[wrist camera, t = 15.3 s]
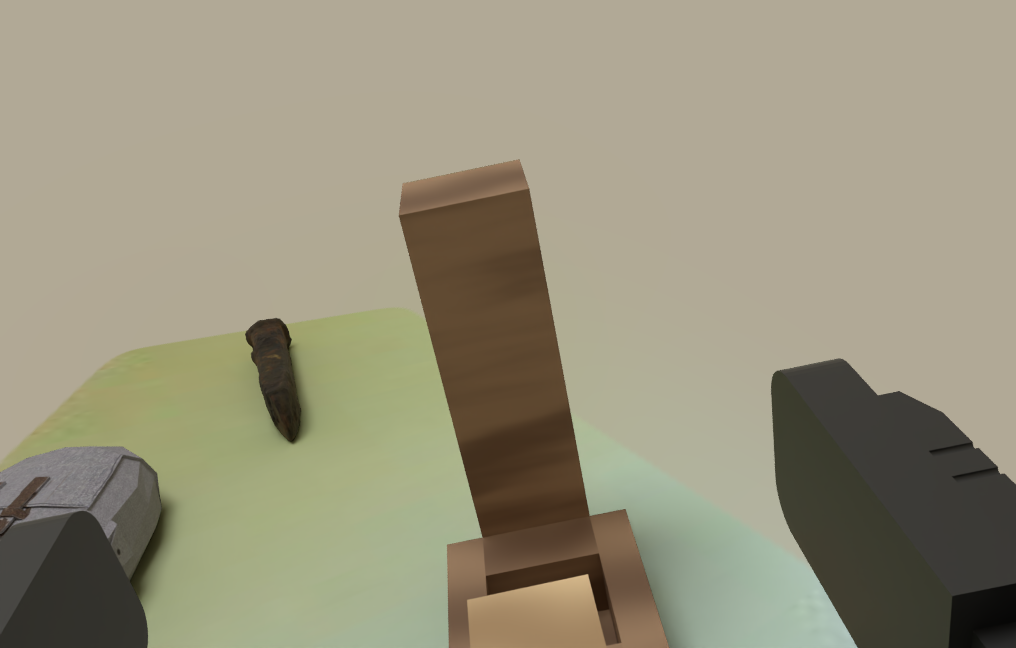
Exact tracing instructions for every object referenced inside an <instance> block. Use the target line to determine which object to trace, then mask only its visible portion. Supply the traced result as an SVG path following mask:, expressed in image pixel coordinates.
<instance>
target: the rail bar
mask: <svg viewBox="0 0 1016 648" xmlns="http://www.w3.org/2000/svg"><path fill="white" fill-rule="evenodd" d="M467 606H468V621H469V635H470V648H607V647H606V643H605V639H604V636H603V632H602V628H601V624H600V620H599V616H598V612H597V608H596V604H595V600H594V596H593V592H592V588H591V584H590V581H589V577H588V574H587V575H582V576H577V577H573V578H568V579H563V580H559V581H554V582H549V583H544V584H540V585H535V586H530V587H526V588H521V589H516V590H512V591H507V592H502V593H498V594H493V595H488V596H483V597H479V598H474V599H469V600H467Z"/></svg>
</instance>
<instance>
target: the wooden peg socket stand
mask: <svg viewBox="0 0 1016 648" xmlns="http://www.w3.org/2000/svg"><path fill="white" fill-rule="evenodd" d="M399 218H400V222H401V226H402V229H403V233H404V237H405V241H406V245H407V248H408V252H409V256H410V260H411V264H412V268H413V271H414V275H415V279H416V283H417V286H418V291H419V294H420V299H421V302H422V306H423V310H424V314H425V318H426V322H427V325H428V329H429V333H430V337H431V341H432V345H433V349H434V352H435V356H436V360H437V364H438V368H439V372H440V375H441V379H442V383H443V387H444V391H445V395H446V398H447V402H448V406H449V410H450V414H451V418H452V422H453V425H454V429H455V433H456V437H457V441H458V445H459V448H460V452H461V456H462V460H463V464H464V468H465V471H466V475H467V479H468V483H469V487H470V491H471V495H472V498H473V502H474V506H475V510H476V514H477V518H478V521H479V525H480V529H481V533H482V537H483V538H478V539H473V540H468V541H463V542H458V543H453V544H448V545H447V564H448V622H449V648H470V635H469V621H468V606H467V600H469V599H474V598H479V597H483V596H488V595H493V594H498V593H502V592H507V591H512V590H516V589H521V588H526V587H530V586H535V585H540V584H544V583H549V582H554V581H559V580H563V579H568V578H573V577H577V576H582V575H587V574H588V577H589V581H590V584H591V588H592V592H593V596H594V600H595V604H596V608H597V612H598V616H599V620H600V624H601V628H602V632H603V636H604V639H605V643H606V647H607V648H669V646H668V642H667V639H666V636H665V633H664V630H663V627H662V623H661V620H660V617H659V614H658V611H657V608H656V604H655V601H654V598H653V595H652V592H651V589H650V585H649V582H648V579H647V576H646V573H645V570H644V566H643V563H642V560H641V557H640V554H639V551H638V547H637V544H636V541H635V538H634V535H633V532H632V528H631V525H630V522H629V519H628V516H627V513H626V509H623V510H618V511H613V512H608V513H603V514H598V515H593V516H589V510H588V505H587V499H586V494H585V488H584V483H583V478H582V472H581V467H580V461H579V456H578V451H577V445H576V440H575V434H574V429H573V424H572V418H571V413H570V407H569V402H568V397H567V391H566V386H565V380H564V375H563V369H562V364H561V359H560V353H559V348H558V343H557V337H556V332H555V326H554V321H553V315H552V310H551V304H550V299H549V294H548V288H547V283H546V277H545V272H544V267H543V261H542V256H541V250H540V245H539V240H538V234H537V229H536V223H535V218H534V212H533V207H532V202H531V197H530V191H529V187H528V184H527V181H526V178H525V175H524V172H523V169H522V166H521V163H520V160H514V161H509V162H504V163H499V164H494V165H490V166H485V167H480V168H475V169H471V170H466V171H461V172H456V173H451V174H447V175H442V176H437V177H432V178H427V179H423V180H417V181H413V182H408V183H403V186H402V194H401V202H400V210H399Z"/></svg>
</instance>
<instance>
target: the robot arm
mask: <svg viewBox="0 0 1016 648" xmlns="http://www.w3.org/2000/svg"><path fill="white" fill-rule="evenodd" d="M771 395H772V415H773V433H774V453H775V454H774V455H775V473H776V485H777V491H778V496H779V500H780V504H781V507H782V511H783V514H784V517H785V519H786V522H787V524H788V526H789V529H790V531H791V533H792V534H793V536H794V538H795V540H796V541H797V543H798V545H799V547H800V548H801V550H802V552H803V554H804V555H805V557H806V559H807V561H808V562H809V564H810V566H811V567H812V569H813V571H814V573H815V574H816V576H817V578H818V580H819V581H820V583H821V585H822V586H823V588H824V590H825V592H826V593H827V595H828V597H829V599H830V600H831V602H832V604H833V606H834V607H835V609H836V611H837V612H838V614H839V616H840V618H841V619H842V621H843V623H844V625H845V626H846V628H847V630H848V631H849V633H850V635H851V637H852V638H853V640H854V642H855V644H856V645H857V647H858V648H1016V484H1015V483H1014V482H1012V481H1011V480H1010V479H1009V478H1008V477H1007V476H1006V475H1005V474H1000V473H999V471H998V467H997V466H996V465H995V464H994V463H993V462H992V461H991V460H990V459H989V458H988V457H987V456H986V455H985V454H984V453H983V452H982V451H981V450H980V449H979V448H976V449H975V448H974V447H973V442H972V441H971V440H970V439H969V438H968V437H967V436H966V435H965V434H964V433H963V432H962V431H961V430H960V429H959V428H958V427H957V426H956V425H955V424H954V423H953V422H952V421H951V420H950V419H949V418H948V417H947V416H946V415H945V414H944V413H942V412H941V411H938V410H936V409H934V408H932V407H930V406H928V405H926V404H924V403H922V402H920V401H918V400H916V399H914V398H912V397H910V396H908V395H906V394H904V393H902V392H900V391H898V392H893V393H888V394H883V395H877V394H876V393H875V392H874V391H873V390H872V389H871V388H870V386H869V385H868V384H867V383H866V382H865V381H864V380H863V379H862V378H861V377H860V376H859V374H858V373H857V372H856V371H855V370H854V369H853V368H852V367H851V366H850V365H849V364H848V363H847V362H846V361H844V360H843V359H834V360H829V361H824V362H819V363H814V364H809V365H804V366H800V367H794V368H790V369H784V370H780V371H776V372H775V373H774V374H773V377H772V383H771ZM147 645H148V629H147V621H146V616H145V613H144V609H143V607H142V604H141V602H140V600H139V598H138V596H137V594H136V592H135V591H134V589H133V587H132V585H131V583H130V581H129V579H128V577H127V575H126V573H125V571H124V569H123V567H122V565H121V563H120V562H119V560H118V558H117V556H116V554H115V552H114V550H113V548H112V546H111V544H110V542H109V540H108V538H107V536H106V534H105V532H104V531H103V529H102V527H101V525H100V523H99V522H98V520H97V519H96V518H95V517H94V516H93V515H92V514H91V513H89V512H87V511H76V512H71V513H66V514H61V515H56V516H51V517H46V518H42V519H37V520H32V521H27V522H22V523H17V524H15V525H13V526H12V527H11V528H9V529H8V531H7V532H6V533H5V534H4V536H3V537H2V539H1V540H0V648H147Z"/></svg>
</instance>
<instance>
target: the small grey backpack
mask: <svg viewBox="0 0 1016 648" xmlns="http://www.w3.org/2000/svg"><path fill="white" fill-rule="evenodd" d="M161 510H162V506H161V500H160V494H159V486H158V477H157V473H156V472H155V471H154V470H153V469H152V468H151V467H150V466H149V465H148V464H147V463H146V462H145V461H144V460H143V459H142V458H140V457H139V456H137V455H135V454H134V453H132V452H130V451H129V450H127V449H125V448H124V447H65V448H62V449H58V450H54V451H51V452H47V453H44V454H40V455H36V456H33V457H29V458H26V459H24V460H22V461H20V462H19V463H17V464H15V465H13V466H11V467H9V468H7V469H5V470H3V471H2V472H0V540H1V539H2V537H3V536H4V534H5V533H6V532H7V531H8V529H9V528H11V527H12V526H13V525H15V524H17V523H22V522H27V521H32V520H37V519H42V518H46V517H51V516H56V515H61V514H66V513H71V512H76V511H87V512H89V513H91V514H92V515H93V516H94V517H95V518H96V519H97V520H98V522H99V523H100V525H101V527H102V529H103V531H104V532H105V534H106V536H107V538H108V540H109V542H110V544H111V546H112V548H113V550H114V552H115V554H116V556H117V558H118V560H119V562H120V563H121V565H122V567H123V569H124V571H125V573H126V575H127V577H128V579H129V581H130V580H131V578H132V576H133V574H134V571H135V569H136V567H137V565H138V563H139V561H140V559H141V557H142V555H143V553H144V551H145V549H146V547H147V545H148V543H149V540H150V538H151V536H152V534H153V532H154V530H155V528H156V526H157V522H158V519H159V516H160V513H161Z"/></svg>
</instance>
